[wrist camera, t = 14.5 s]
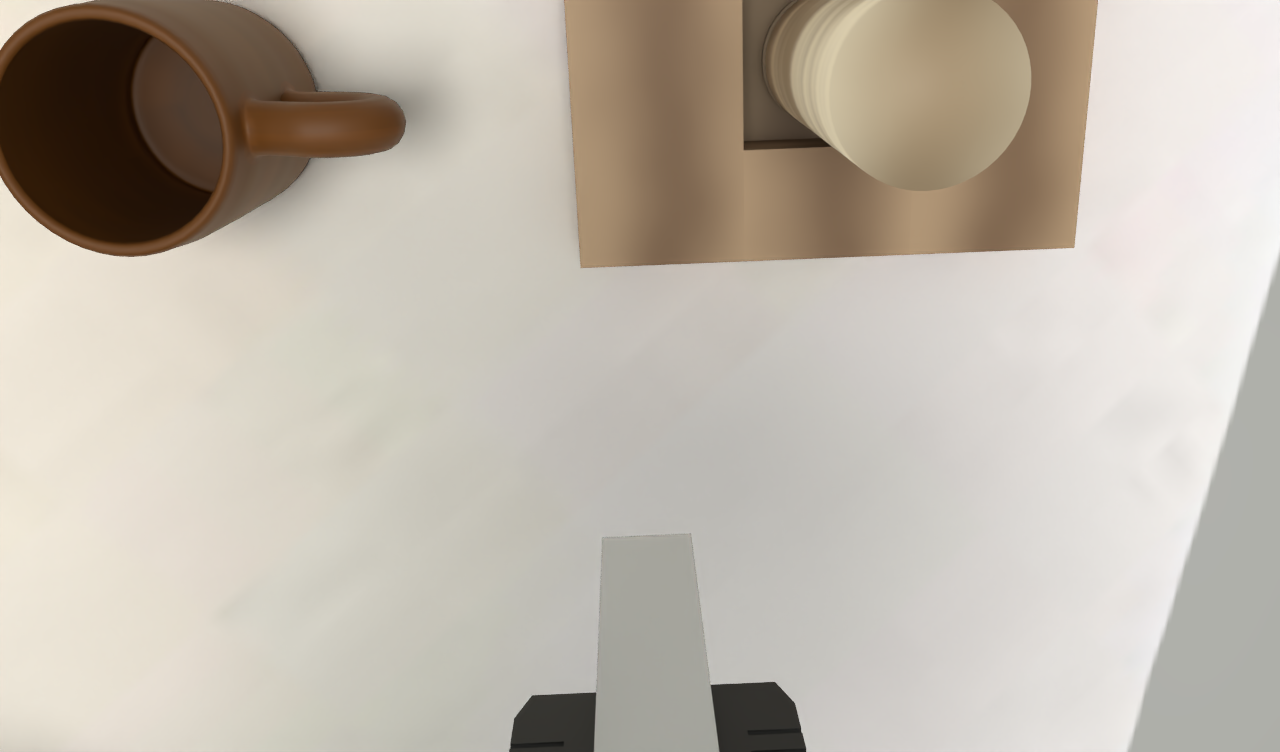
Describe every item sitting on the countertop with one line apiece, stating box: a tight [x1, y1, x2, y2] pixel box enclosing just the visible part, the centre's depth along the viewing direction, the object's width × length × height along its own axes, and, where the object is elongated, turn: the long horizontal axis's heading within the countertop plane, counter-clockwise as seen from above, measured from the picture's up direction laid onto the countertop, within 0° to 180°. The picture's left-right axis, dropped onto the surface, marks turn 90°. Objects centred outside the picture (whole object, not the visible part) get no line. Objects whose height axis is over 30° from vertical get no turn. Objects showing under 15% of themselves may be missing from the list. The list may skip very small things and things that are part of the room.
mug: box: [0, 0, 406, 257], centre depth 36 cm, size 12×8×9 cm, turn 90°
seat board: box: [564, 0, 1098, 268], centre depth 38 cm, size 18×14×3 cm
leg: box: [762, 0, 1031, 191], centre depth 32 cm, size 5×5×16 cm
